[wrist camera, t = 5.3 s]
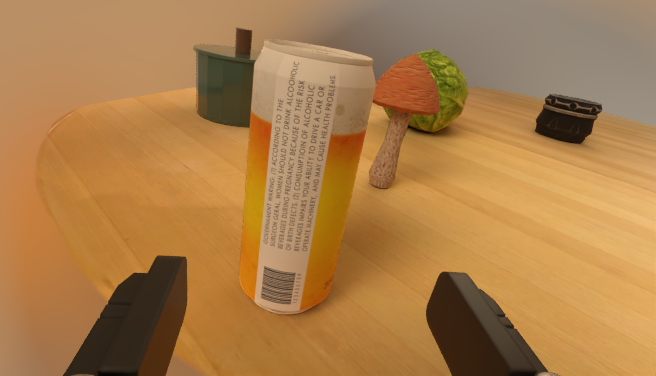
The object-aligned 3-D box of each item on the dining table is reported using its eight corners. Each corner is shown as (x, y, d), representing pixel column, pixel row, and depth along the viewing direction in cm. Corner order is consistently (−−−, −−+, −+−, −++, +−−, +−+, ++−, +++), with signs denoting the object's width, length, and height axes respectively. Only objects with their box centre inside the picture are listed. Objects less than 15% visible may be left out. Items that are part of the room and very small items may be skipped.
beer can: (328, 262, 26) (372, 54, 20) (330, 326, 20) (391, 67, 14) (248, 252, 25) (266, 35, 19) (228, 315, 20) (244, 40, 14)
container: (520, 126, 94) (536, 90, 89) (557, 131, 97) (573, 96, 93) (558, 142, 83) (578, 101, 78) (597, 146, 86) (618, 107, 82)
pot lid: (227, 67, 45) (229, 30, 43) (175, 48, 53) (175, 16, 51) (306, 71, 56) (310, 40, 54) (252, 54, 64) (254, 27, 62)
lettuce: (410, 129, 86) (465, 156, 77) (354, 100, 67) (418, 133, 58) (441, 73, 82) (503, 95, 73) (391, 26, 63) (466, 47, 54)
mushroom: (406, 176, 45) (441, 57, 39) (422, 204, 38) (467, 64, 32) (348, 166, 45) (373, 44, 38) (352, 194, 38) (384, 49, 31)
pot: (237, 136, 48) (241, 66, 44) (174, 101, 59) (172, 42, 55) (306, 128, 58) (314, 69, 54) (241, 99, 68) (243, 49, 64)
